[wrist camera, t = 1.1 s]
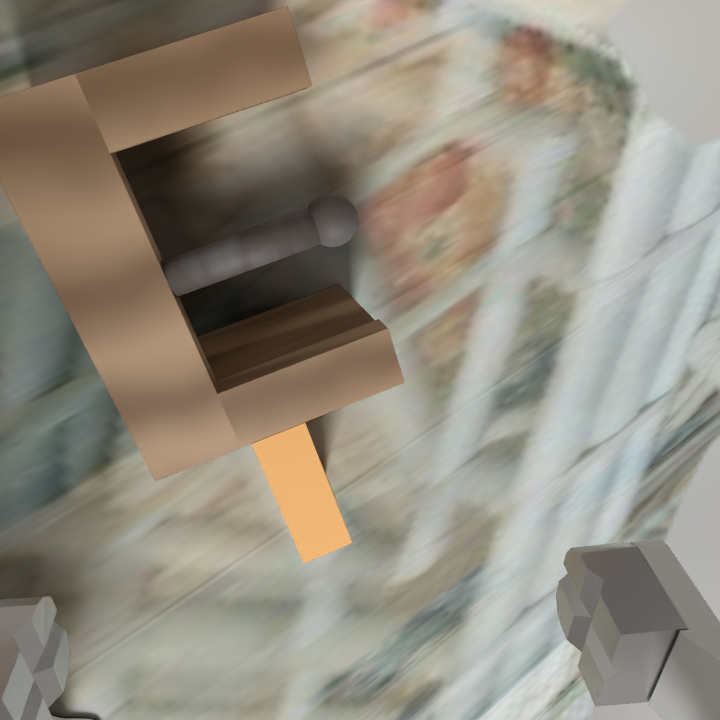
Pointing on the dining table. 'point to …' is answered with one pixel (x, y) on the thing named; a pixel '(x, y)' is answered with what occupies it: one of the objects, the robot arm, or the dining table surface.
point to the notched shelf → (125, 254)
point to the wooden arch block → (302, 491)
